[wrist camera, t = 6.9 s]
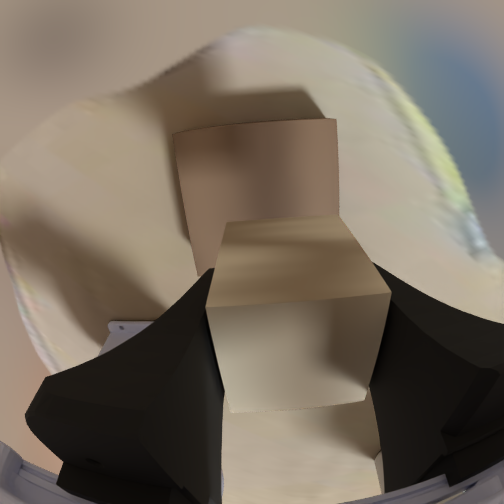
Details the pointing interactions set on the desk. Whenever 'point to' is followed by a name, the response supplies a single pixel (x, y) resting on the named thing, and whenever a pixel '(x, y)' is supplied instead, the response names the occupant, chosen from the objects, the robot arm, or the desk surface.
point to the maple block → (295, 314)
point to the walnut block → (254, 176)
